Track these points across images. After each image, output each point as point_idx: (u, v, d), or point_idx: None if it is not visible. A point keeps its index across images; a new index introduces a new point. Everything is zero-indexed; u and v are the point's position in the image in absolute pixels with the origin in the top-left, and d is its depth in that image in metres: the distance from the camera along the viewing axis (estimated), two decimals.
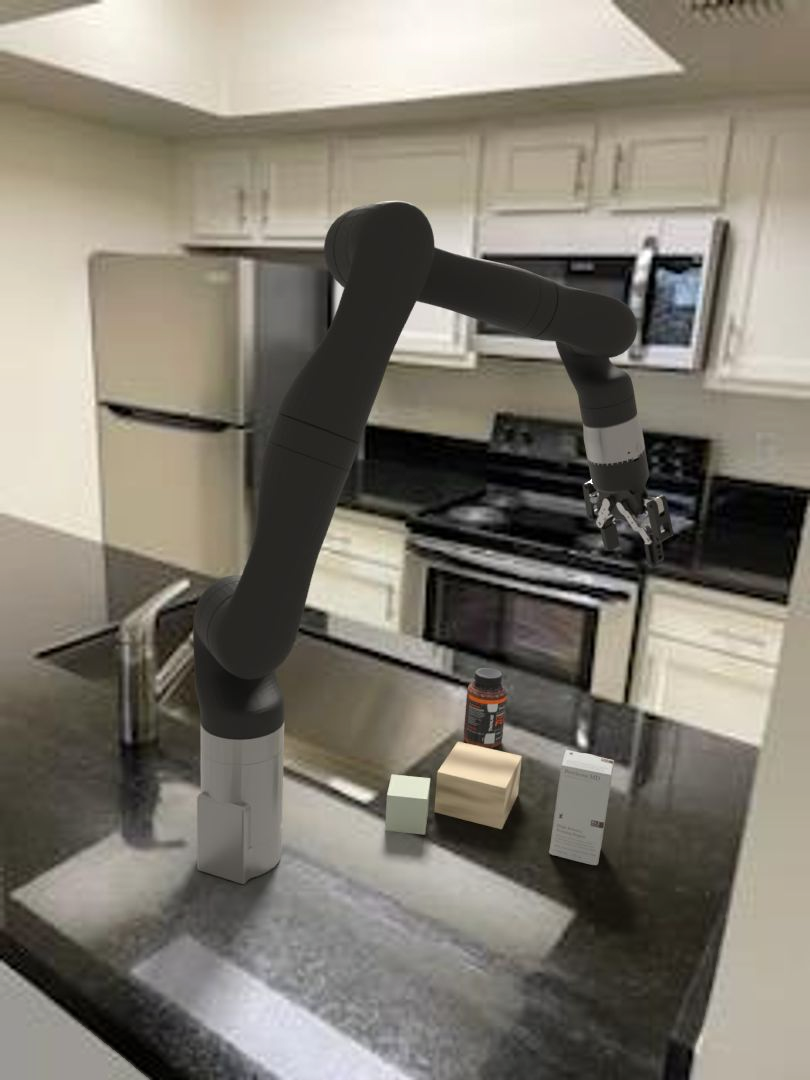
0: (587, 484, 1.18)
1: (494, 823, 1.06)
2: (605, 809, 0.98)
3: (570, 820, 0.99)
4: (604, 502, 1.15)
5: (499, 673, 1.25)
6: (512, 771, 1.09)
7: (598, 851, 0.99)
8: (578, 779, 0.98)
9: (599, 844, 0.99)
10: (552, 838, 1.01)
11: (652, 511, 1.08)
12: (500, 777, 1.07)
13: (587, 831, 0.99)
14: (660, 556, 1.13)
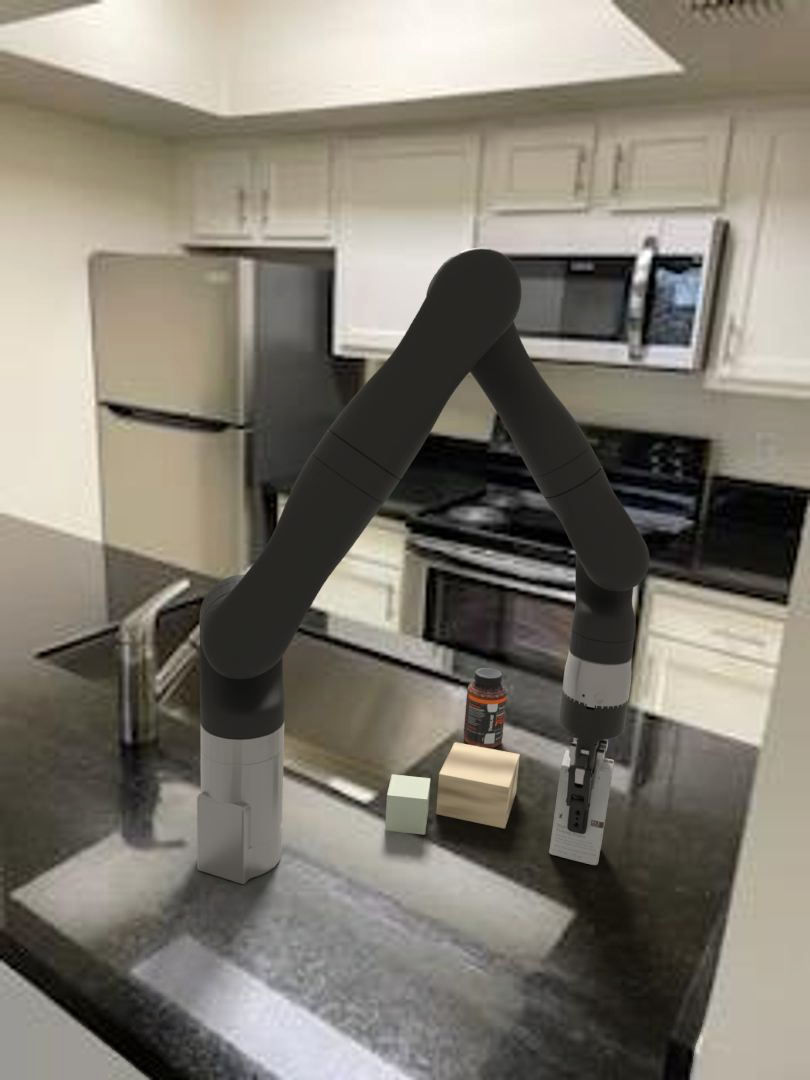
0: None
1: (497, 823, 1.06)
2: (605, 809, 0.98)
3: None
4: None
5: (499, 673, 1.25)
6: (512, 770, 1.09)
7: (598, 851, 0.99)
8: None
9: (599, 844, 0.99)
10: (552, 838, 1.01)
11: None
12: (502, 777, 1.07)
13: (587, 831, 0.99)
14: (578, 825, 0.98)
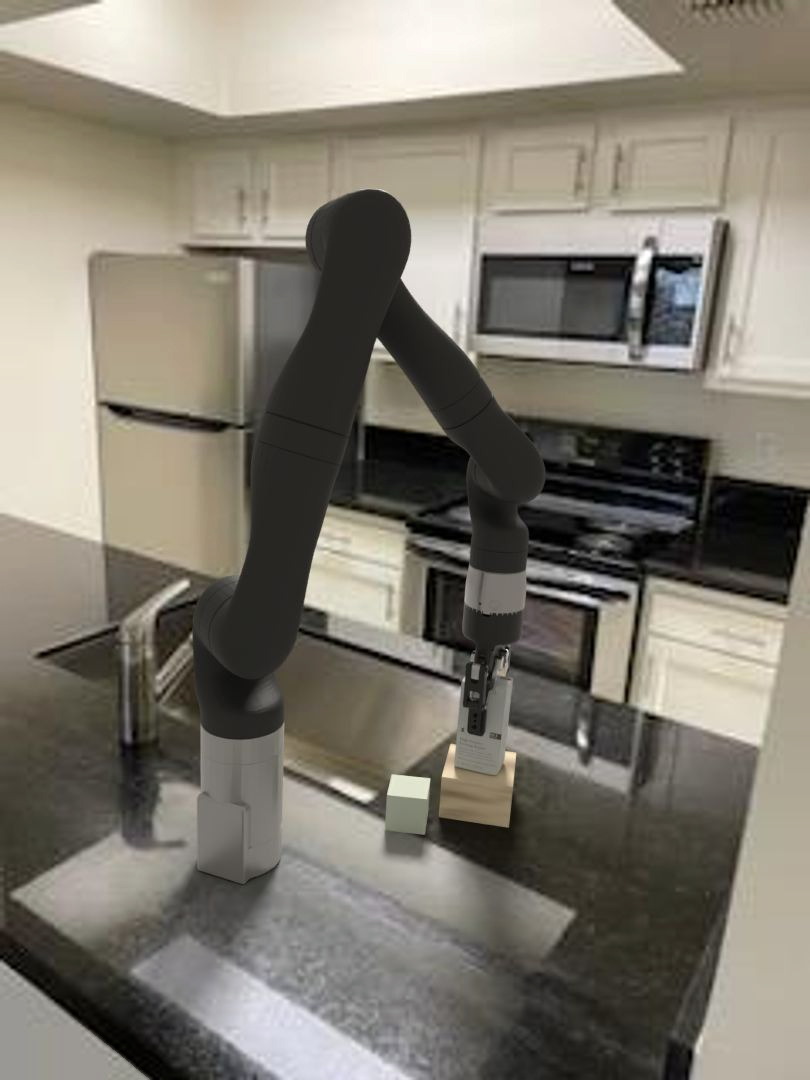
0: None
1: (501, 822, 1.07)
2: (502, 721, 1.05)
3: None
4: None
5: None
6: (513, 769, 1.09)
7: (497, 762, 1.07)
8: (477, 694, 1.06)
9: (498, 755, 1.07)
10: (456, 751, 1.08)
11: (466, 672, 1.01)
12: (504, 776, 1.07)
13: (486, 743, 1.07)
14: (476, 727, 1.04)
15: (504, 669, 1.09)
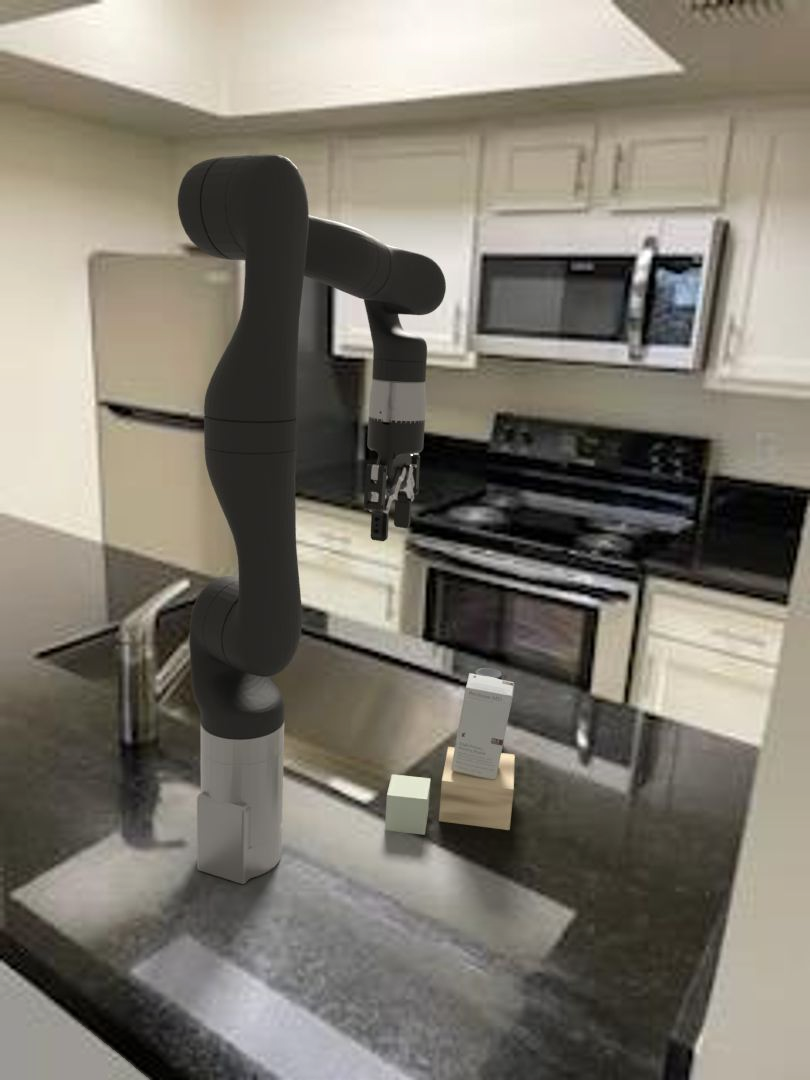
0: None
1: (502, 825, 1.06)
2: (505, 728, 1.04)
3: (472, 739, 1.05)
4: None
5: (499, 673, 1.25)
6: (512, 771, 1.09)
7: (497, 766, 1.06)
8: (481, 700, 1.04)
9: (498, 760, 1.06)
10: (454, 755, 1.07)
11: None
12: (504, 779, 1.07)
13: (487, 749, 1.05)
14: (378, 531, 1.10)
15: (410, 485, 1.15)
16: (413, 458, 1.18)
